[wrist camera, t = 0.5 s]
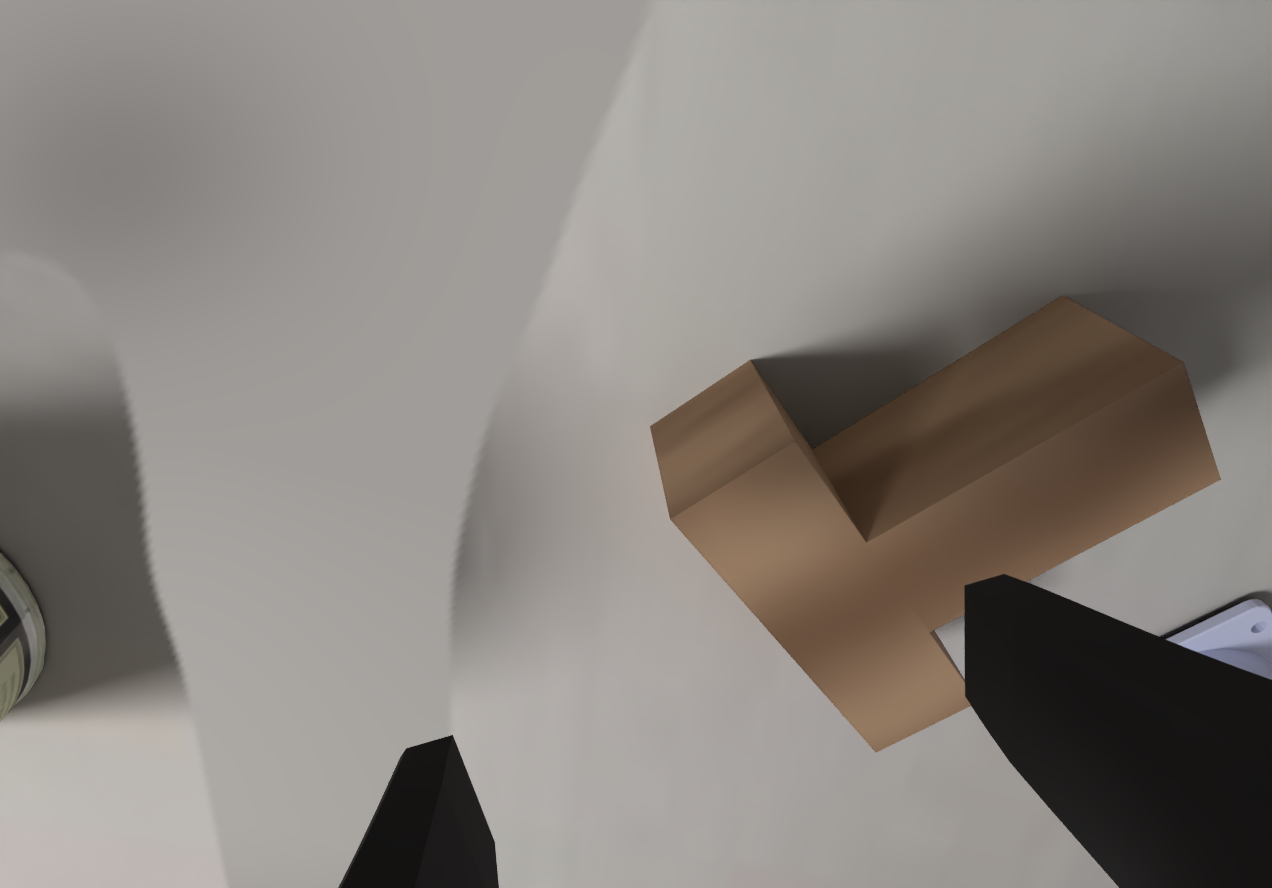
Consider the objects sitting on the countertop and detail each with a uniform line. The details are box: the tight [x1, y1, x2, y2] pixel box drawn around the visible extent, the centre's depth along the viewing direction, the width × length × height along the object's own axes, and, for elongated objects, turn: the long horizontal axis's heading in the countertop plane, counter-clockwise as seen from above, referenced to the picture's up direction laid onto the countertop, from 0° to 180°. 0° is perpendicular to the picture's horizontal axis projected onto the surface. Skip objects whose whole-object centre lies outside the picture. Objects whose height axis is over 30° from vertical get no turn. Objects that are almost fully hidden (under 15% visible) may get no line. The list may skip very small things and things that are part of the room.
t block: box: [650, 296, 1221, 752], centre depth 18 cm, size 10×10×4 cm
